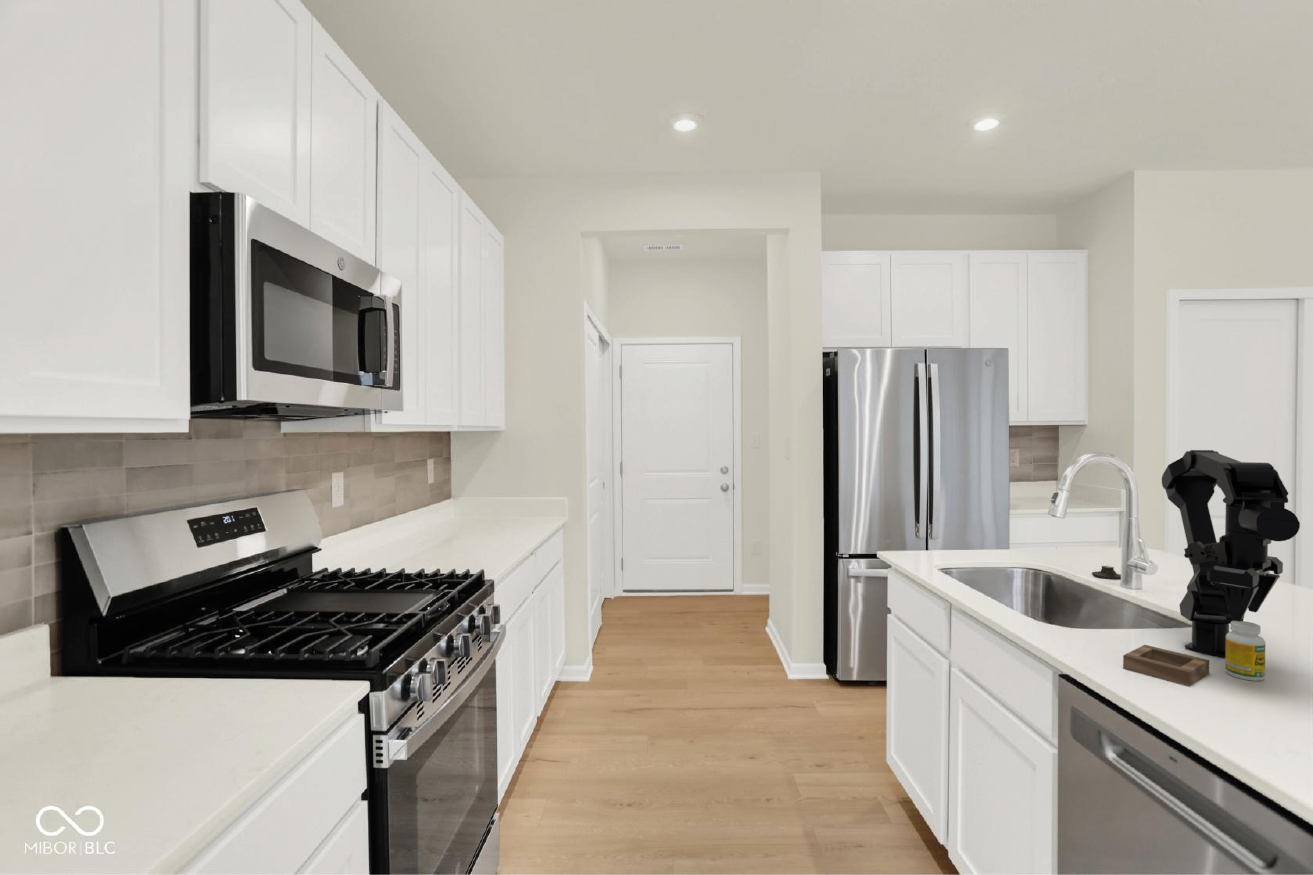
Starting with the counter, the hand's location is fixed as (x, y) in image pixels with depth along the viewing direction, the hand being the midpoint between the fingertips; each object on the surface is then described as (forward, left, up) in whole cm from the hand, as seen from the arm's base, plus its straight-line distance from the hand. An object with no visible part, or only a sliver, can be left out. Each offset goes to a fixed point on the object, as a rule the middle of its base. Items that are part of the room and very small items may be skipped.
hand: (1244, 616), depth 117 cm
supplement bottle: (0, 0, -11) cm, 11 cm away
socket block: (+9, -9, -11) cm, 17 cm away
